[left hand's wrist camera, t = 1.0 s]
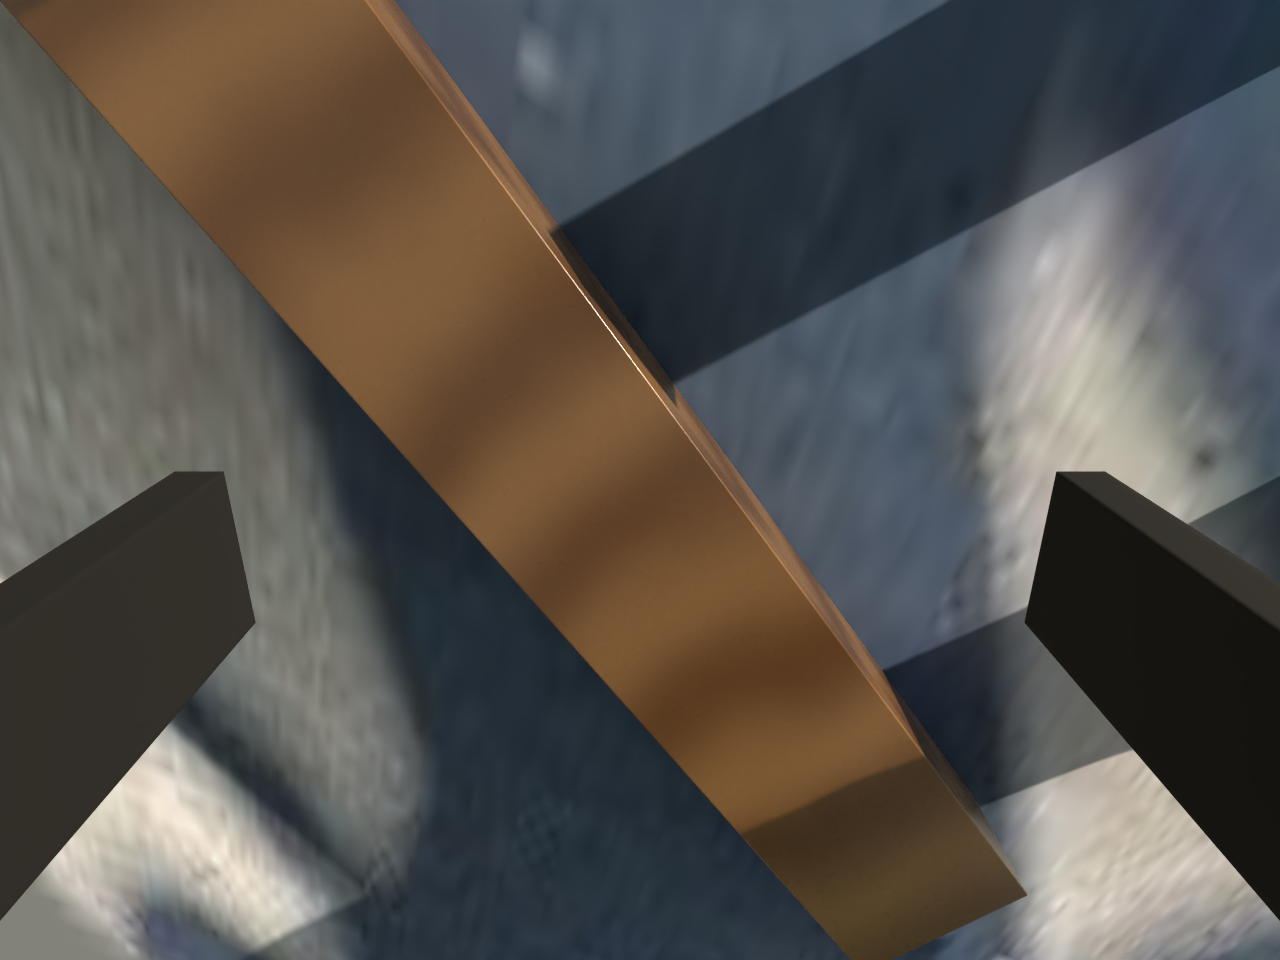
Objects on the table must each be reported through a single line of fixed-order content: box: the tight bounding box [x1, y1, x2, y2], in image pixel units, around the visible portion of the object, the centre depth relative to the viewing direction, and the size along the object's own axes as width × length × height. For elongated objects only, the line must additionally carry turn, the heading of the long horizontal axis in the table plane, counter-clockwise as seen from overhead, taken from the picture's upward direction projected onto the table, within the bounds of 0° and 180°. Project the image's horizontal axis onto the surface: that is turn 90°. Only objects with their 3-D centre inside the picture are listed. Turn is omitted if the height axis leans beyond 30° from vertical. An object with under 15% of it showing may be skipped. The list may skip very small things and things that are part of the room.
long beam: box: [0, 0, 1027, 960], centre depth 32 cm, size 73×10×7 cm, turn 36°
